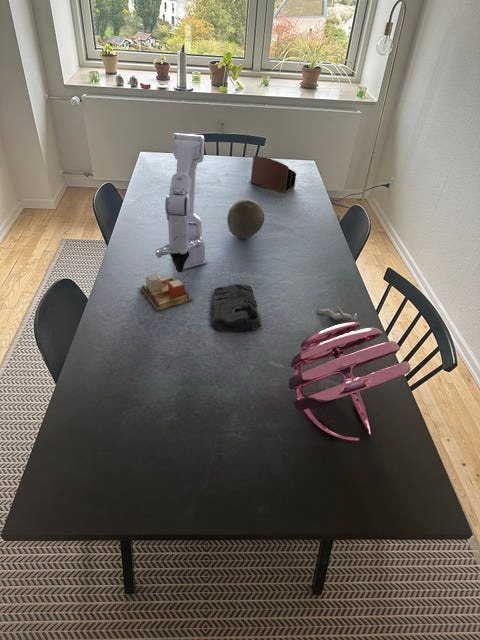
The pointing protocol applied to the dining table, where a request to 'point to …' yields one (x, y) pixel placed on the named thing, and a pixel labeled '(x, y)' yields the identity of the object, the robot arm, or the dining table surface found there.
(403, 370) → the pink slatted stand
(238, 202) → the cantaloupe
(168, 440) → the dining table surface
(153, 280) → the cream panelled block
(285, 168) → the letter holder
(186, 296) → the divided wooden tray
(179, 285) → the red block with panel
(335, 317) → the soldier figure
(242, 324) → the dark slate chunk
